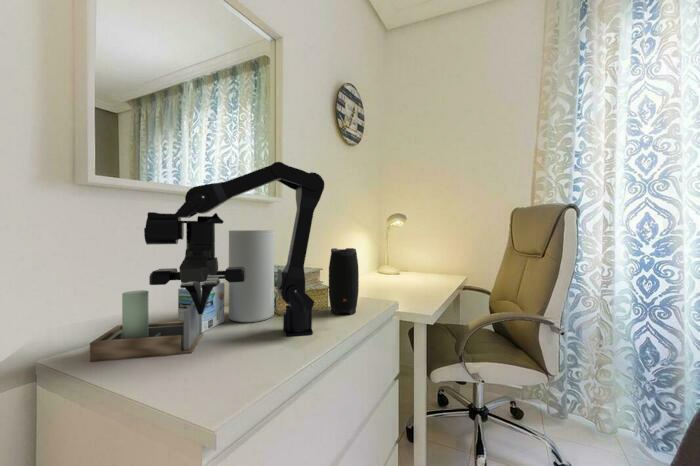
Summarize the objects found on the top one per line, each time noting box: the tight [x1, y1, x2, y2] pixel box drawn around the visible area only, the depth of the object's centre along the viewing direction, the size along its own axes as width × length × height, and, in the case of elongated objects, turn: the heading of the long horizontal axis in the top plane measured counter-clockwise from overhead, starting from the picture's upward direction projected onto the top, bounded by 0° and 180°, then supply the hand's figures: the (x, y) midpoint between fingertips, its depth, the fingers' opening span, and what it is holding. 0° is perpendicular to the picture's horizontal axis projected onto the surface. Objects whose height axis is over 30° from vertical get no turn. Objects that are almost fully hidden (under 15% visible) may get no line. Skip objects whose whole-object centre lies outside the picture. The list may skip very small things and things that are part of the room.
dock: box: [89, 321, 204, 363], centre depth 68 cm, size 18×11×4 cm, turn 104°
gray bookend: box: [107, 302, 200, 350], centre depth 68 cm, size 16×10×8 cm, turn 104°
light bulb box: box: [177, 282, 225, 334], centre depth 82 cm, size 11×7×11 cm, turn 172°
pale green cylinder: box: [121, 289, 150, 339], centre depth 67 cm, size 5×5×11 cm
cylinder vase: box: [228, 229, 275, 323], centre depth 91 cm, size 12×12×25 cm
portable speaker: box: [328, 247, 360, 316], centre depth 97 cm, size 9×9×20 cm
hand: (200, 313), depth 70 cm, fingers closed
